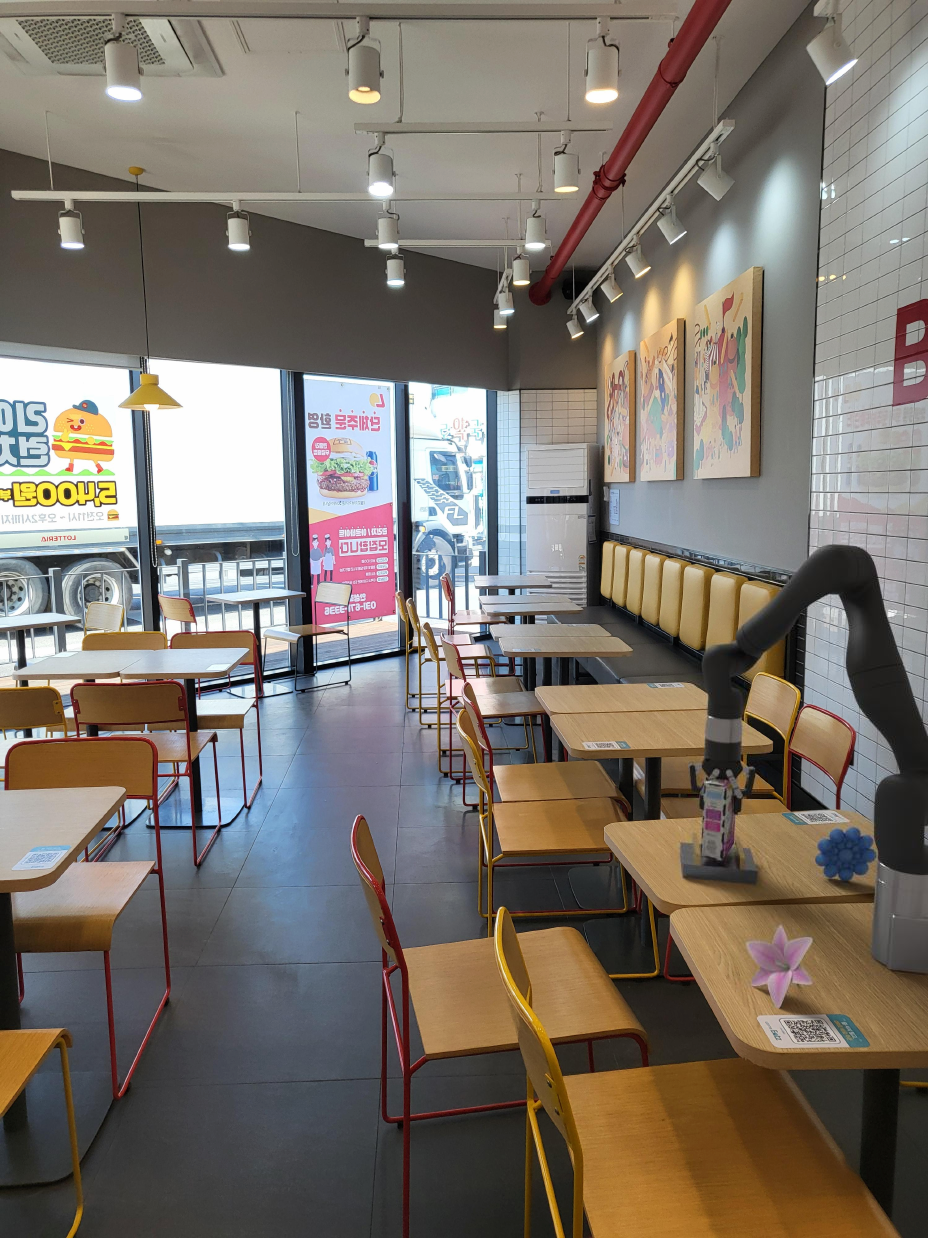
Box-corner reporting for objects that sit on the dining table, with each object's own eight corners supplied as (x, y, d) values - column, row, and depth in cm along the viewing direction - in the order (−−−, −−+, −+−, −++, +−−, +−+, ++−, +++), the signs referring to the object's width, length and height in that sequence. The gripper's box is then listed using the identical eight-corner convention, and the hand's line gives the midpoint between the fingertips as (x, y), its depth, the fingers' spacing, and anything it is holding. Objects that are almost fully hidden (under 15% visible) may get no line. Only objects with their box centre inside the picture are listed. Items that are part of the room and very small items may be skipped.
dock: (756, 884, 172) (758, 859, 171) (682, 877, 175) (683, 852, 174) (749, 861, 184) (750, 837, 183) (679, 855, 187) (680, 831, 186)
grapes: (872, 877, 176) (876, 823, 175) (875, 890, 170) (879, 834, 168) (813, 868, 180) (816, 815, 179) (814, 881, 174) (817, 826, 172)
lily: (743, 969, 142) (728, 931, 138) (811, 948, 140) (797, 909, 136) (768, 1031, 131) (752, 991, 127) (841, 1009, 129) (828, 968, 125)
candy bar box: (724, 862, 173) (727, 786, 171) (700, 857, 175) (702, 782, 173) (735, 844, 182) (738, 772, 180) (712, 840, 185) (715, 769, 183)
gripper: (689, 739, 173) (686, 815, 176) (761, 743, 171) (757, 821, 173) (687, 730, 181) (684, 804, 183) (756, 734, 178) (752, 809, 180)
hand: (719, 812), depth 178 cm, fingers open, 6 cm apart
